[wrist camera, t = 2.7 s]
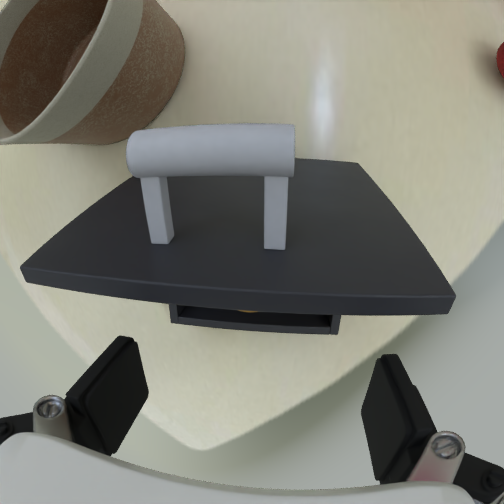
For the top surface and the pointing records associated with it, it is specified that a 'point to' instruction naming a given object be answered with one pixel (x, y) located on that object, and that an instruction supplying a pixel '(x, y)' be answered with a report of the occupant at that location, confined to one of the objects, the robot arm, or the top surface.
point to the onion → (500, 59)
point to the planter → (85, 69)
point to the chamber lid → (244, 231)
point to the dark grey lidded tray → (255, 320)
